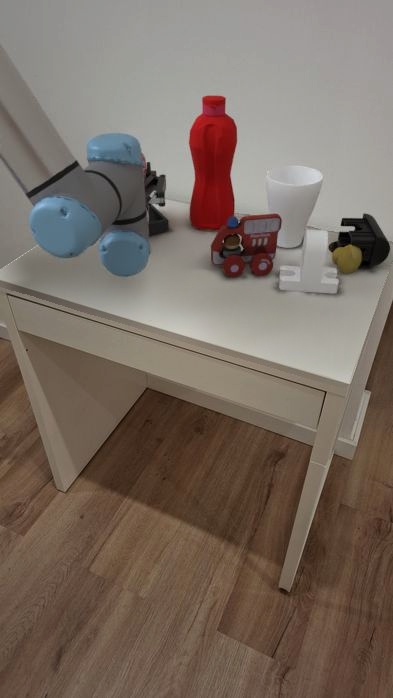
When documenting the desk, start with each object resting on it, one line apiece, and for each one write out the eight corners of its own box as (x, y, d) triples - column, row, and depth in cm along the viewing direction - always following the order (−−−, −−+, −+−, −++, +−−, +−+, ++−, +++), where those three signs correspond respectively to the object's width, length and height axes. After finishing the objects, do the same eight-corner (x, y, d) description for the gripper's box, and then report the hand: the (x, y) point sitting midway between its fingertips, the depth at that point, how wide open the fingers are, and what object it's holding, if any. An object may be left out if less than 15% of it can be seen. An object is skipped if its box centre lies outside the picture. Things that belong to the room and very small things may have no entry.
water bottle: (235, 212, 108) (241, 88, 92) (231, 234, 100) (237, 102, 84) (195, 210, 110) (194, 87, 94) (187, 231, 101) (185, 101, 85)
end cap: (385, 270, 88) (394, 236, 84) (346, 270, 88) (354, 236, 84) (371, 245, 96) (379, 213, 92) (335, 244, 96) (342, 212, 92)
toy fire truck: (208, 260, 92) (208, 208, 85) (271, 256, 93) (276, 204, 86) (213, 279, 87) (213, 225, 80) (280, 275, 88) (286, 221, 81)
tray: (118, 242, 98) (116, 231, 96) (100, 220, 105) (99, 210, 104) (169, 230, 102) (168, 219, 100) (148, 210, 109) (147, 200, 108)
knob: (362, 271, 88) (369, 247, 85) (338, 276, 87) (344, 252, 84) (347, 260, 92) (353, 235, 88) (324, 264, 90) (329, 240, 87)
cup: (312, 255, 93) (324, 187, 84) (258, 251, 94) (264, 183, 86) (312, 231, 101) (323, 166, 92) (262, 227, 102) (268, 163, 94)
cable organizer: (337, 293, 83) (348, 240, 76) (279, 289, 84) (285, 237, 77) (334, 277, 87) (345, 226, 80) (279, 274, 88) (285, 222, 81)
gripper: (72, 238, 85) (85, 189, 103) (185, 232, 86) (178, 184, 104) (64, 197, 80) (79, 152, 98) (184, 192, 81) (177, 148, 99)
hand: (130, 169), depth 101 cm, fingers closed on soda can, 7 cm apart
